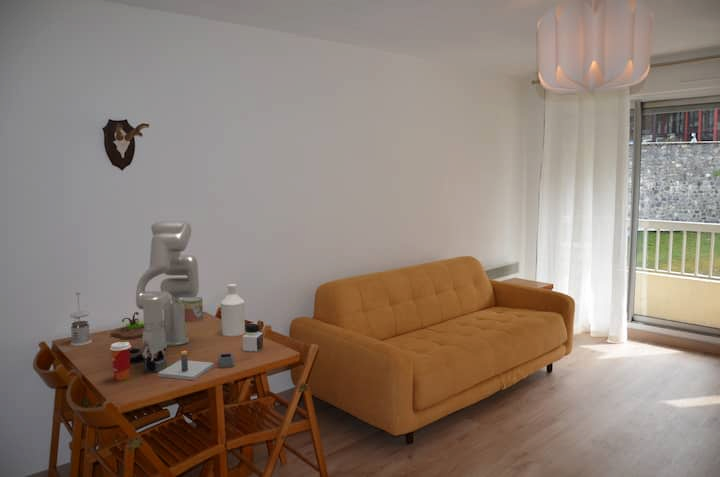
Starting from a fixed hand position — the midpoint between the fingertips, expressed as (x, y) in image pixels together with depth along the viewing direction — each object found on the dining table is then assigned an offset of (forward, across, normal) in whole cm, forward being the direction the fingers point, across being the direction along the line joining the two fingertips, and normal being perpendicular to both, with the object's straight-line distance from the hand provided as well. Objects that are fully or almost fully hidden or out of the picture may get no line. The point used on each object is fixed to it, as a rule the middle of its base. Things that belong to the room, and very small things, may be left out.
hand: (155, 366), depth 227 cm
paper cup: (+1, +12, -7) cm, 14 cm away
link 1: (+1, 0, 0) cm, 1 cm away
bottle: (+1, -55, +7) cm, 55 cm away
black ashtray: (+1, -8, -17) cm, 19 cm away
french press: (+1, -23, -58) cm, 62 cm away
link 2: (+1, -12, +26) cm, 29 cm away
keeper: (+1, -1, +14) cm, 14 cm away
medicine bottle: (+1, -34, +28) cm, 44 cm away
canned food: (+2, -72, -27) cm, 77 cm away
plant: (+2, -42, -42) cm, 59 cm away
